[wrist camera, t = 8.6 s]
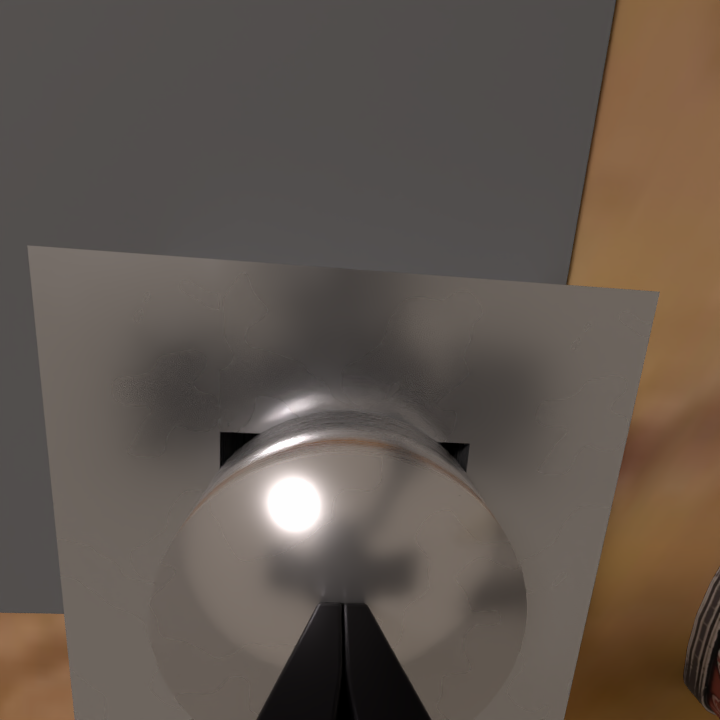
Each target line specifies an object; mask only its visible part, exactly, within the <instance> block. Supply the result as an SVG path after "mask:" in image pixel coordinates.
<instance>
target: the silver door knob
mask: <svg viewBox="0 0 720 720" xmlns="http://www.w3.org/2000/svg"><path fill="white" fill-rule="evenodd" d="M321 602H333V603H340V604H341V605H342V608H343V605H344V604H345V603H365V604H366V605H368V607H369V608H370V610H371V612H372V614H373V615H374V617H375V619H376V621H377V623H378V624H379V626H380V628H381V630H382V632H383V633H384V635H385V637H386V639H387V641H388V642H389V644H390V646H391V648H392V649H393V651H394V653H395V655H396V657H397V658H398V660H399V662H400V664H401V666H402V667H403V669H404V671H405V673H406V675H407V676H408V678H409V680H410V682H411V684H412V685H413V687H414V689H415V691H416V693H417V694H418V696H419V698H420V700H421V702H422V703H423V705H424V707H425V709H426V710H427V712H428V714H429V716H430V718H431V719H432V720H474V719H475V717H476V716H477V715H478V714H479V713H480V712H481V711H482V710H483V709H484V708H485V707H486V706H487V705H488V704H489V703H490V702H491V701H492V699H493V698H494V697H495V695H496V694H497V693H498V692H499V690H500V689H501V688H502V686H503V684H504V683H505V681H506V679H507V677H508V676H509V674H510V672H511V671H512V669H513V666H514V664H515V661H516V659H517V657H518V654H519V652H520V648H521V645H522V641H523V637H524V633H525V626H526V617H527V599H526V588H525V583H524V578H523V573H522V569H521V567H520V564H519V561H518V558H517V556H516V553H515V551H514V549H513V547H512V545H511V543H510V542H509V540H508V538H507V536H506V534H505V533H504V531H503V529H502V528H501V526H500V525H499V523H498V522H497V520H496V518H495V517H494V515H493V514H492V512H491V511H490V509H489V508H488V506H487V504H486V503H485V501H484V500H483V498H482V497H481V495H480V494H479V492H478V490H477V489H476V487H475V486H474V484H473V483H472V481H471V480H470V478H469V476H468V475H467V473H466V472H465V471H464V469H463V468H462V467H461V465H460V464H459V463H458V461H457V460H456V459H455V458H454V457H453V456H452V455H451V454H450V453H449V452H448V451H447V450H446V449H445V448H444V447H443V446H442V445H441V444H439V443H438V442H437V441H435V440H434V439H433V438H431V437H430V436H428V435H427V434H425V433H424V432H422V431H420V430H418V429H416V428H414V427H413V426H411V425H409V424H406V423H403V422H401V421H398V420H396V419H393V418H390V417H386V416H382V415H378V414H373V413H366V412H358V411H328V412H321V413H313V414H308V415H305V416H301V417H297V418H293V419H290V420H288V421H285V422H283V423H280V424H278V425H275V426H273V427H271V428H269V429H267V430H266V431H264V432H262V433H260V434H258V435H257V436H255V437H254V438H252V439H251V440H250V441H248V442H247V443H246V444H244V445H243V446H242V447H240V448H239V449H238V450H237V451H236V452H235V453H234V454H233V455H232V456H231V457H230V458H229V459H228V460H227V461H226V462H225V463H224V465H223V466H222V467H221V468H220V470H219V471H218V472H217V474H216V475H215V476H214V478H213V479H212V481H211V482H210V484H209V486H208V487H207V489H206V490H205V492H204V493H203V495H202V496H201V498H200V499H199V501H198V502H197V504H196V506H195V507H194V509H193V510H192V512H191V513H190V515H189V516H188V518H187V519H186V521H185V522H184V524H183V526H182V527H181V529H180V530H179V532H178V533H177V535H176V536H175V538H174V539H173V541H172V543H171V545H170V547H169V548H168V550H167V552H166V554H165V556H164V557H163V559H162V561H161V564H160V567H159V569H158V572H157V575H156V578H155V580H154V584H153V589H152V594H151V599H150V608H149V629H150V637H151V645H152V649H153V652H154V656H155V659H156V663H157V666H158V668H159V670H160V672H161V675H162V677H163V679H164V681H165V683H166V685H167V687H168V688H169V690H170V691H171V693H172V694H173V696H174V697H175V699H176V700H177V702H178V703H179V704H180V705H181V706H182V708H183V709H184V710H185V711H186V712H187V713H188V714H189V716H190V717H191V718H192V719H193V720H256V719H257V717H258V715H259V713H260V711H261V709H262V708H263V706H264V704H265V702H266V700H267V698H268V696H269V694H270V692H271V691H272V689H273V687H274V685H275V683H276V681H277V679H278V677H279V676H280V674H281V672H282V670H283V668H284V666H285V664H286V662H287V660H288V659H289V657H290V655H291V653H292V651H293V649H294V647H295V645H296V643H297V642H298V640H299V638H300V636H301V634H302V632H303V630H304V628H305V626H306V625H307V623H308V621H309V619H310V617H311V615H312V613H313V611H314V610H315V608H316V606H317V605H318V604H319V603H321Z"/></svg>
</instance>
